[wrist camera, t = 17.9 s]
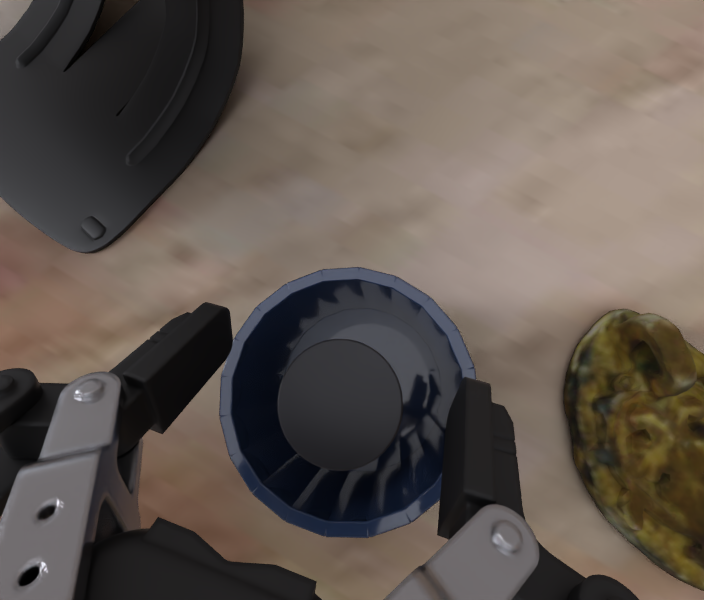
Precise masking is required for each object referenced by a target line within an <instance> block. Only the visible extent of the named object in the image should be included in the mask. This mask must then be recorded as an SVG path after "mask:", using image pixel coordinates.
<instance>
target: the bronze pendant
mask: <svg viewBox="0 0 704 600" xmlns="http://www.w3.org/2000/svg"><path fill="white" fill-rule="evenodd" d="M564 404H565V413H566V416H567V418H568V421H569V426H570V431H571V435H572V440H573V445H574V452H573V453H574V460H575V464H576V466H577V468H578V470H579V471H580V474H581V476H582V479H583V482H584V484H585V486H586V488H587V490H588V492H589V493H590V495H591V496H592V498H593V500H594V502H595V504H596V505H597V507H598V508H599V510H600V511H601V512H602V514H603V515H604V516H605V518H606V519H607V520H608V522H610V523H611V524H612V525H613V526H614V527H615V528H616V529H617V530H618V531H619V532H620V533H621V534H622V535H623V536H624V537H625V538H626V539H627V540H628V541H629V542H630V543H632V544H633V545H634V546H635V547H637V548H638V549H639V550H640V551H641V552H642V553H643V554H644V555H646V556H647V557H648V558H649V559H650V560H651V561H652V562H653V563H654V564H656V565H657V566H659V567H660V568H661V569H663V570H664V571H666V572H667V573H669V574H670V575H672V576H673V577H675V578H676V579H678V580H680V581H683V582H685V583H687V584H689V585H691V586H693V587H695V588H698V589H700V590H703V591H704V354H703V353H701V352H700V351H698V350H697V349H696V348H694V347H693V346H692V345H691V344H689V343H688V342H687V341H685V340H684V339H683V337H682V334H681V332H680V330H679V329H678V328H677V327H676V326H675V325H674V324H672V323H671V322H670V321H669V320H667V319H665V318H663V317H661V316H659V315H656V314H651V313H646V314H641V315H640V314H639V313H637V312H634V311H632V310H629V309H618V310H613V311H610V312H608V313H607V314H605V315H604V316H603V317H601V318H600V319H599V320H598V321H597V322H596V323H595V324H594V325H593V326H592V327H591V329H590V330H589V332H588V333H586V334H585V336H584V337H583V338H582V340H581V341H580V342H579V344H578V346H577V348H576V350H575V351H574V354H573V356H572V359H571V362H570V365H569V368H568V371H567V374H566V384H565V389H564Z"/></svg>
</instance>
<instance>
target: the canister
mask: <svg viewBox="0 0 704 600" xmlns="http://www.w3.org/2000/svg"><path fill="white" fill-rule="evenodd" d="M277 405H278V417H279V421H280V425H281V428H282V430H283V433H284V435H285V437H286V439H287V440H288V442H289V443H290V445H291V446H292V448H293V449H294V450H295V451H296V452H297V453H298V454H299V455H300V456H302V457H303V458H304V459H305V460H307V461H308V462H310V463H312V464H314V465H316V466H318V467H321V468H324V469H328V470H336V471H346V470H352V469H356V468H360V467H363V466H365V465H367V464H369V463H371V462H372V461H374V460H375V459H377V458H378V457H379V456H380V455H382V454H383V453H384V452H385V451H386V449H387V448H388V447H389V446H390V445H391V443H392V441H393V440H394V438H395V436H396V434H397V432H398V430H399V427H400V424H401V420H402V414H403V396H402V390H401V386H400V383H399V380H398V378H397V376H396V374H395V372H394V370H393V368H392V367H391V365H390V364H389V363H388V361H387V360H386V359H385V358H384V357H383V356H382V355H381V354H380V353H379V352H377V351H376V350H374V349H373V348H371V347H370V346H368V345H366V344H364V343H361V342H358V341H354V340H349V339H331V340H326V341H322V342H319V343H317V344H315V345H313V346H311V347H309V348H307V349H306V350H304V351H303V352H302V353H301V354H299V355H298V356H297V357H296V358H295V360H294V361H293V362H292V363H291V364H290V366H289V367H288V369H287V370H286V372H285V374H284V376H283V379H282V381H281V384H280V388H279V392H278V401H277Z"/></svg>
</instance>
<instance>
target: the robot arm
mask: <svg viewBox="0 0 704 600" xmlns="http://www.w3.org/2000/svg"><path fill="white" fill-rule="evenodd" d="M232 345H233V337H232V328H231V319H230V311H229V309H228V308H226V307H222V306H219V305H215V304H212V303H208V302H205V303H203V304H202V305H200V306H199V307H198V308H197V309H196V310H195V311H194V312H192V313H188V312H187V313H185V314H183V315H180V316H178V317H176V318H174V319H172V320H171V321H169V322H168V323H167V324H166V325H165V326H163V327H162V328H161V329H160V331H157V332H156V333H155V334H154V335H153V336H151V337H150V340H147V341H145V342H144V343H143V344H142V345H141V346H140V347H138V348H137V349H136V350H135V351H134V352H132V353H131V354H130V355H129V356H128V357H126V358H125V359H124V360H123V361H122V362H120V363H119V364H118V365H117V366H116V367H114V368H113V369H112V370H111V371H109V372H94V373H90V374H87V375H84V376H81V377H79V378H77V379H75V380H74V381H72V382H71V383H70V384H59V383H39V382H38V380H37V378H36V377H35V375H34V373H33V372H31V371H30V370H27V369H23V368H14V369H7V370H3V371H0V516H1V515H2V514H3V515H2V517H1V520H0V600H322V599H321V598H320V597H318V596H317V595H316V594H315V588H316V581H314V580H311V579H309V578H306V577H304V576H302V575H299V574H297V573H294V572H292V571H289V570H287V569H284V568H282V567H279V566H277V565H271V564H256V563H242V562H230V561H227V560H226V559H224V558H223V557H222V556H221V555H220V554H219V553H217V552H216V551H215V550H214V549H213V548H212V547H211V546H210V545H209V544H207V543H206V542H205V541H204V540H203V539H202V538H201V537H200V536H199V535H197V534H196V533H195V532H194V531H191V530H189V529H186V528H184V527H181V526H179V525H176V524H174V523H171V522H169V521H167V520H164V519H162V518H159V517H158V518H157V519H156V521H155V522H154V524H153V525H152V527H151V528H146V529H141V523H140V514H139V508H138V494H139V483H140V472H141V461H142V449H143V439H142V437H143V436H144V434H145V433H146V432H147V431H148V430H149V429H150V430H153V431H156V432H159V433H161V434H163V433H164V432H165V431H166V430H167V428H168V427H169V426H170V425H171V424H172V422H173V421H174V420H175V419H176V418H177V417H178V415H179V414H180V413H181V412H182V411H183V409H184V408H185V407H186V406H187V405H188V404H189V402H190V401H191V400H192V399H193V398H194V396H195V395H196V394H197V393H198V392H199V391H200V389H201V388H202V387H203V386H204V385H205V383H206V382H207V381H208V380H209V379H210V378H211V376H212V375H213V374H214V373H215V372H216V371H217V369H218V368H219V367H220V366H221V365H222V363H223V362H224V361H225V360H226V359H227V357H228V356H229V354H230V352H231V349H232ZM514 440H515V436H514V427H513V422H512V420H511V418H510V416H509V414H508V412H507V410H506V409H505V407H504V406H502V405H499V404H495V403H492V400H491V386H490V384H489V383H486V382H482V381H479V380H475V379H472V378H468V377H464V378H463V380H462V382H461V384H460V386H459V389H458V391H457V393H456V396H455V398H454V400H453V402H452V405H451V407H450V410H449V413H448V417H447V422H446V430H445V443H444V456H443V469H442V482H441V495H440V508H439V520H438V533H437V535H439V536H441V537H444V538H447V539H449V541H448V542H447V543H446V544H445V545H444V546H443V547H442V548H441V549H440V550H439V551H438V552H437V553H436V554H434V555H433V556H432V557H431V558H430V559H429V560H428V561H427V562H426V563H425V564H424V565H422V566H419V567H418V568H416V569H415V570H414V571H413V572H412V573H411V574H409V575H408V576H407V577H406V578H405V579H404V580H403V581H402V582H401V583H400V584H399V585H398V586H397V587H396V588H395V589H394V590H393V591H392V592H391V593H390V594H389V595H388V596H387V597H386V598H385V599H384V600H639V599H638V598H637V597H636V596H635V595H634V594H633V593H632V592H631V591H630V590H629V589H628V588H627V587H625V586H624V585H623V584H621V583H620V582H618V581H617V580H615V579H613V578H611V577H608V576H605V575H592V576H589V577H587V578H585V577H583V576H582V575H580V574H579V573H577V572H576V571H575V570H573V569H572V568H570V567H569V566H567V565H566V564H564V563H563V562H562V561H560V560H559V559H557V558H556V557H554V556H553V555H552V554H551V553H549V552H548V551H547V550H546V549H545V548H544V547H543V546H542V545H541V544H540V543H539V542H538V541H537V540H536V537H535V535H534V533H533V531H532V529H531V528H530V526H529V525H528V524H527V522H526V520H525V517H524V514H523V508H522V499H521V490H520V481H519V472H518V463H517V457H516V445H515V442H514Z"/></svg>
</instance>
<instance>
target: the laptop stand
mask: <svg viewBox="0 0 704 600" xmlns="http://www.w3.org/2000/svg"><path fill="white" fill-rule="evenodd" d="M104 2H105V0H33V1H32V3H31V5H30V6H29V8H28V9H27V11H26V12H25V13H24V15H23V16H22V17H21V19H20V20H19V21H18V23H17V24H16V25H15V27H14V28H13V29H12V30H11V31H10V32H9V33H8V34H7V35H6V36H5V37H4V38H3V39H2V40H1V41H0V197H1V198H2V199H3V200H4V201H6V202H7V203H8V204H9V205H10V206H11V207H12V208H13V209H14V210H15V211H17V212H18V213H19V214H20V215H21V216H22V217H24V218H25V219H26V220H27V221H29V222H30V223H31V224H33V225H34V226H35V227H37V228H38V229H39V230H41V231H42V232H43V233H45V234H46V235H48V236H49V237H51V238H52V239H54V240H55V241H57V242H58V243H60V244H62V245H63V246H65V247H67V248H69V249H71V250H74V251H77V252H81V253H93V252H96V251H99V250H101V249H103V248H105V247H107V246H108V245H110V244H111V243H112V242H113V241H115V240H116V239H117V238H118V237H120V236H121V235H122V234H123V233H124V232H125V231H126V230H127V229H128V228H129V227H130V226H131V225H132V224H133V223H134V222H135V221H136V220H137V219H138V218H139V217H140V216H141V215H142V214H143V213H144V212H145V211H146V210H147V208H148V207H149V206H150V205H151V204H152V203H153V202H154V201H155V200H156V199H157V198H158V197H159V196H160V195H161V194H162V193H163V192H164V191H165V190H166V189H167V188H168V187H169V186H170V185H171V184H172V183H173V182H174V181H175V180H176V178H177V177H178V176H179V175H180V174H181V173H182V172H183V171H184V170H185V168H186V167H187V166H188V164H189V163H190V162H191V160H192V159H193V158H194V156H195V155H196V154H197V152H198V151H199V150H200V148H201V147H202V145H203V144H204V142H205V141H206V139H207V138H208V136H209V135H210V133H211V132H212V130H213V129H214V127H215V125H216V123H217V121H218V119H219V117H220V115H221V113H222V111H223V109H224V107H225V105H226V103H227V100H228V98H229V96H230V93H231V91H232V88H233V86H234V83H235V81H236V77H237V74H238V70H239V67H240V61H241V55H242V46H243V31H244V7H243V0H140V1H139V2H137V3H136V4H135V5H134V6H133V7H132V8H131V9H130V10H129V11H128V12H127V13H125V14H124V15H123V16H122V17H121V18H120V19H119V20H118V21H117V22H116V23H115V24H114V25H113V26H112V27H111V28H110V29H109V30H108V31H107V32H106V33H105V34H104V35H103V36H102V37H101V38H100V39H99V40H97V41H96V42H95V43H94V44H93V45H92V46H91V47H90V48H89V49H88V50H87V51H86V52H85V53H84V54H83V55H82V56H81V57H80V58H79V59H78V60H77V61H76V62H75V63H74V64H73V62H74V61H75V60H76V58H77V57H78V55H79V54H80V52H81V51H82V49H83V47H84V46H85V44H86V42H87V41H88V39H89V37H90V36H91V34H92V32H93V30H94V28H95V25H96V23H97V21H98V18H99V16H100V14H101V12H102V8H103V5H104ZM72 64H73V65H72ZM71 65H72V66H71Z"/></svg>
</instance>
